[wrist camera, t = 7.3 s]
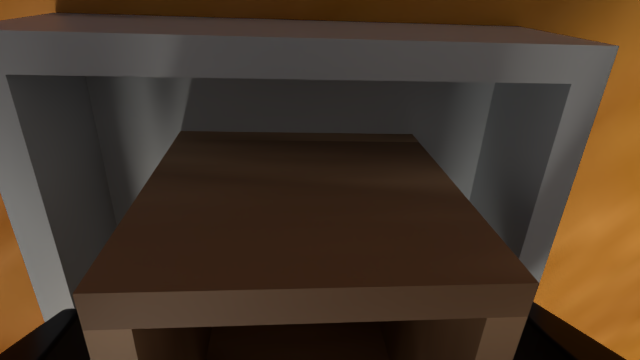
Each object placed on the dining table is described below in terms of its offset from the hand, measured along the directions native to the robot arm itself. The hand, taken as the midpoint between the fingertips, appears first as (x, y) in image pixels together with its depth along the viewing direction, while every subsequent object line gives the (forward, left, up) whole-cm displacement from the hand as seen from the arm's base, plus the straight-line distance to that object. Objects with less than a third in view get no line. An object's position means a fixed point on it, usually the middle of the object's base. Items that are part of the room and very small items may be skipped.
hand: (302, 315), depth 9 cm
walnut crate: (0, 0, -3) cm, 3 cm away
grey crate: (0, 0, -4) cm, 4 cm away
